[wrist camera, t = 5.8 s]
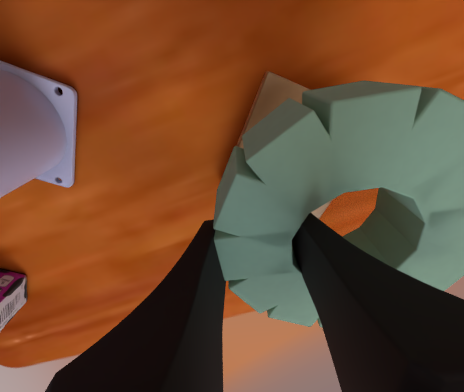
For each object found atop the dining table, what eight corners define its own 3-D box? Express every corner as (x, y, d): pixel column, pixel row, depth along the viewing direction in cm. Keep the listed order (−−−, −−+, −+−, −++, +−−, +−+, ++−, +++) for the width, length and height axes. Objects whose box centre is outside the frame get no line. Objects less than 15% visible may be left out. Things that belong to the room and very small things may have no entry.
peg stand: (221, 183, 19) (218, 227, 14) (265, 70, 15) (285, 72, 10) (313, 214, 21) (340, 262, 16) (376, 119, 17) (442, 143, 12)
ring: (192, 251, 13) (183, 298, 10) (277, 33, 8) (301, 16, 5) (352, 294, 15) (378, 343, 12) (502, 141, 10) (601, 168, 7)
